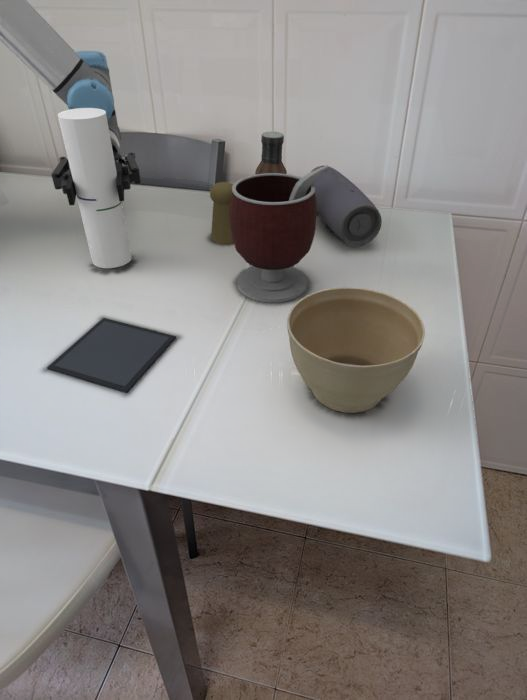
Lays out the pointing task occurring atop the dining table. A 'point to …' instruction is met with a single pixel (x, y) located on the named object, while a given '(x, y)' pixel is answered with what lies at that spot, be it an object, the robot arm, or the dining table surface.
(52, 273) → the dining table surface
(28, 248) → the dining table surface
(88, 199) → the cylindrical container
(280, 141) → the sauce bottle
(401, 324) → the planter bowl
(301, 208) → the mate gourd
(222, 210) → the olive pepper mill
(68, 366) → the charcoal mat
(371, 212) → the bluetooth speaker
